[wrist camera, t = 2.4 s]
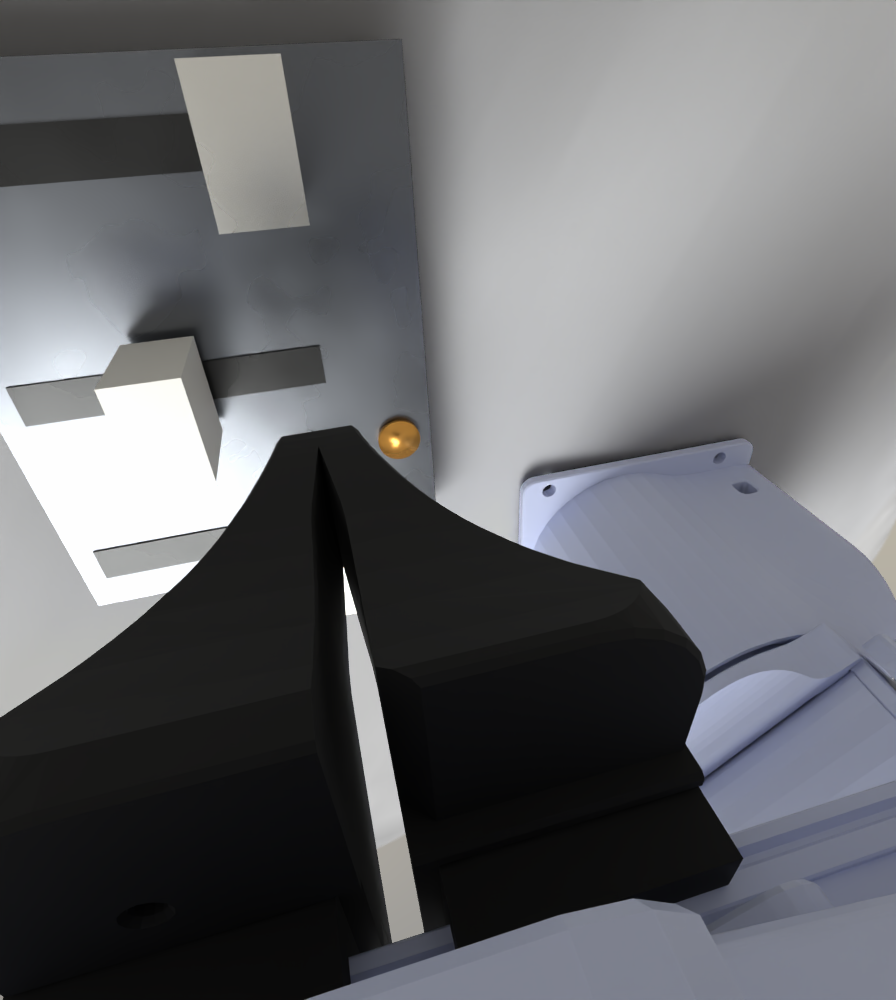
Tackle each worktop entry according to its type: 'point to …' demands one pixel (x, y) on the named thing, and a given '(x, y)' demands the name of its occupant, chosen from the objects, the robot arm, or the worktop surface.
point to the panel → (204, 275)
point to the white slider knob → (162, 414)
